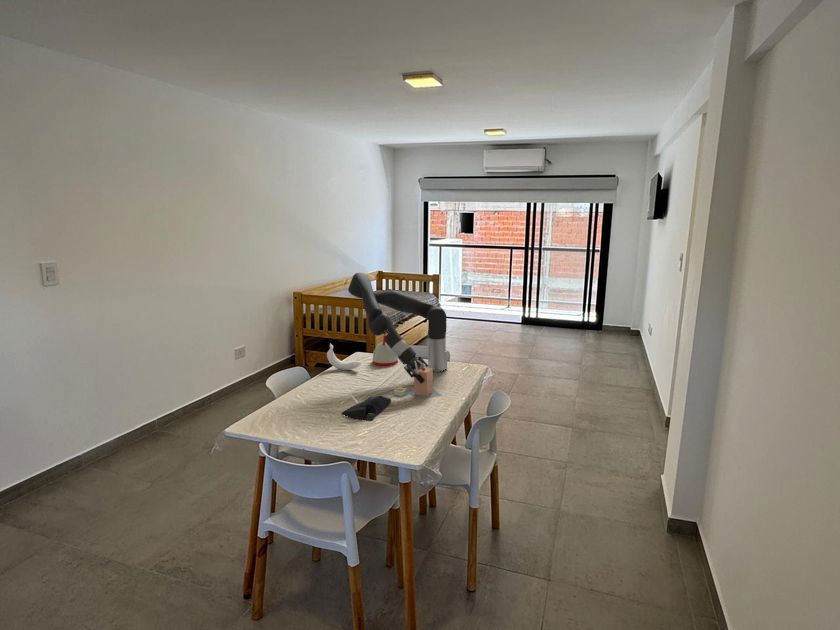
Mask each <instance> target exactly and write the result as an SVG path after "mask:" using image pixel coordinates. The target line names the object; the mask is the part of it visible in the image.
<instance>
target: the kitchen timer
mask: <svg viewBox="0 0 840 630" xmlns="http://www.w3.org/2000/svg"><path fill="white" fill-rule="evenodd" d="M386 336H387V335H385V334H384V335H383V339H382V342H380V343H379V344H377V346H376V347H375V349H374V350H373V353H372V365H375V366H378V367H391V366H394V364H395V365H397V364H398V363H399V359H398V357H397V356H396V355H395V354H394V352H393V351H392V349H391V348H390V347H389V346H388V345H387V344H386V342H385V337H386ZM390 365H391V366H390Z"/></svg>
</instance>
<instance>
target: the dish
mask: <svg viewBox="0 0 840 630" xmlns="http://www.w3.org/2000/svg"><path fill="white" fill-rule="evenodd" d="M398 388H399V387H397V388H395V389H393V396H397V397H398V396H400V397H403V396H405V395H406V394H407V393H408V392H407V391H408V388H404V387H402V388H403V389H404V390H403V391H397V389H398Z"/></svg>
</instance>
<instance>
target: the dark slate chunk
mask: <svg viewBox="0 0 840 630" xmlns="http://www.w3.org/2000/svg"><path fill="white" fill-rule="evenodd" d="M391 402H392V399H391V398H389V397H386V396H383V395H376V396H370V397H367V399H365V400H364V401H362V402H360V403H356V404H354V405H352V406H350V407H349V408H346V409H345V410H343V411H342V413H341V415H342V414H343V415H345V416H348V417H347V418H349V417H350V419H351V418H353V419H352V420H356V419H358V420H357V421H365V420H366V421H369V422H370V421H371V422H372V421H373V420H374V419H376V418H377V416H379V415H380V414H381V413H382V412H383V411H384V409H386V408H387V407H388V405H390V403H391ZM343 415H342V416H343Z"/></svg>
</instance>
